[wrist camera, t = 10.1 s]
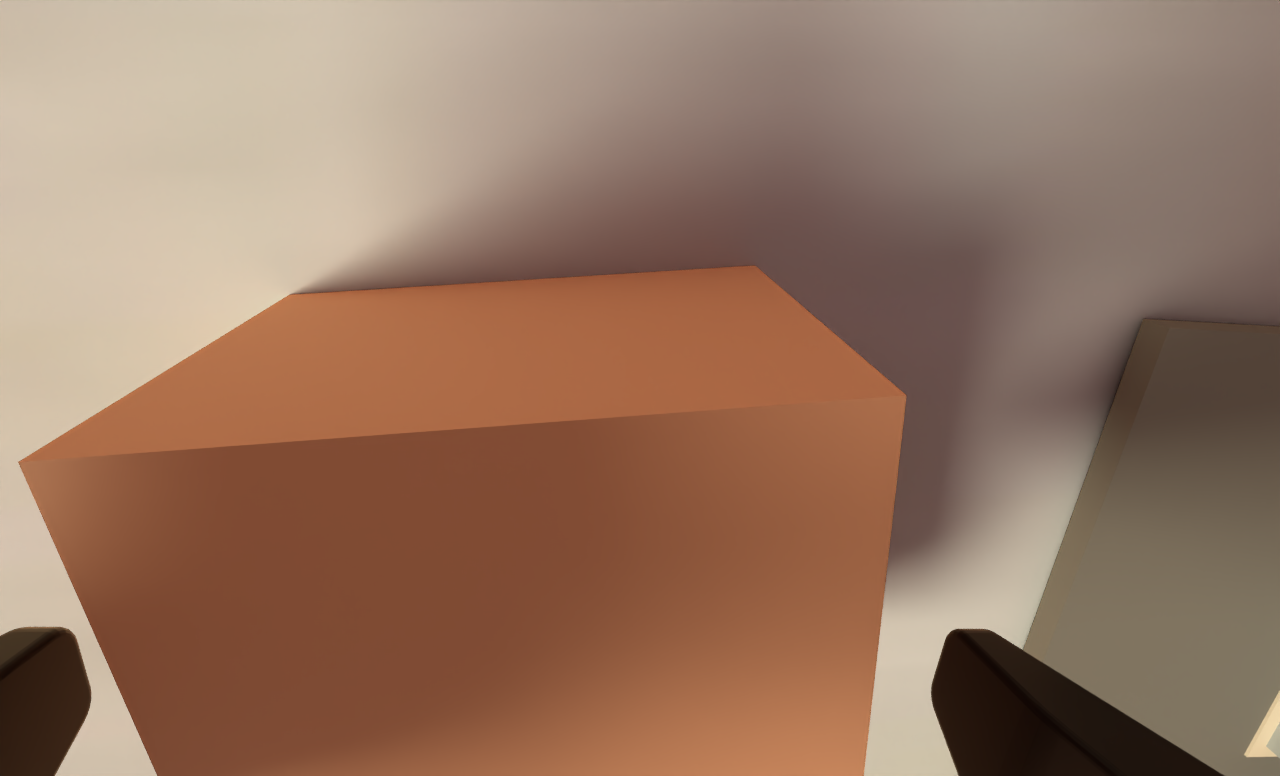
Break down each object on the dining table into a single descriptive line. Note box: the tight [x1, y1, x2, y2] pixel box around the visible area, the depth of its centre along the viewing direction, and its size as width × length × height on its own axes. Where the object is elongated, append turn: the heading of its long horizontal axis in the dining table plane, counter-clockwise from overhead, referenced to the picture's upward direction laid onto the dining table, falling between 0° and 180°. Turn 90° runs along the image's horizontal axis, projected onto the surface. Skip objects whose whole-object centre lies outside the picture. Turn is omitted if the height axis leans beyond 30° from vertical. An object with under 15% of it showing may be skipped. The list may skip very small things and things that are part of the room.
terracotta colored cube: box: [18, 265, 907, 776], centre depth 9 cm, size 6×6×5 cm
